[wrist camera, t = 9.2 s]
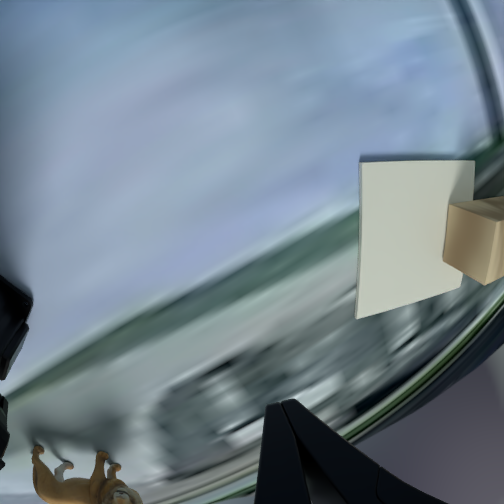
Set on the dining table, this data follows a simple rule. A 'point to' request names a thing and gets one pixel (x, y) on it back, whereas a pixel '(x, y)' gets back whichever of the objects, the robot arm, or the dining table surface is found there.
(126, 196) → the dining table surface
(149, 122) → the dining table surface
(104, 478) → the lion figurine
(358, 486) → the robot arm
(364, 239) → the stone tile
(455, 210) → the beech block
